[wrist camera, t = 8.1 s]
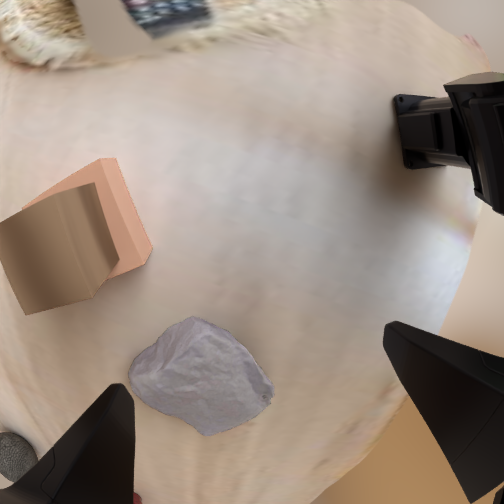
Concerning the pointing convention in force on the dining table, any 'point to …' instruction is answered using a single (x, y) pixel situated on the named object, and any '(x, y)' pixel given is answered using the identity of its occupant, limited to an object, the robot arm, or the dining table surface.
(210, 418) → the stone block
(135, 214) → the terracotta block
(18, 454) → the decorative ball
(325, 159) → the dining table surface
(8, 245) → the walnut cube
